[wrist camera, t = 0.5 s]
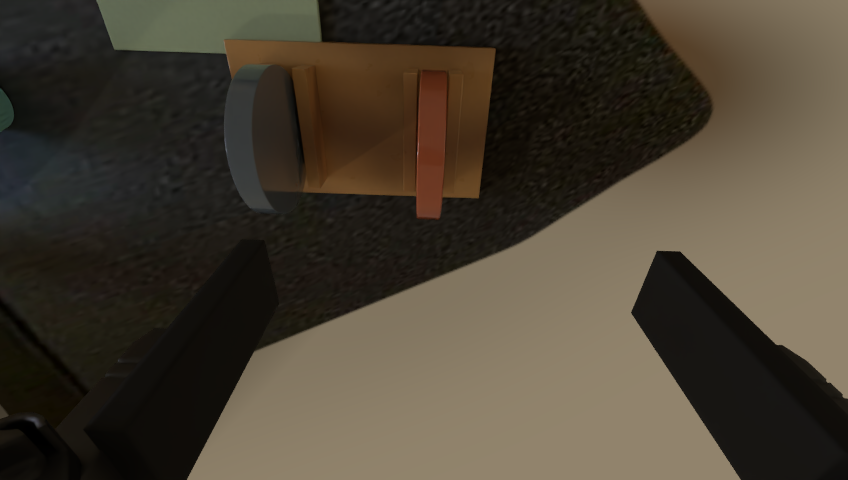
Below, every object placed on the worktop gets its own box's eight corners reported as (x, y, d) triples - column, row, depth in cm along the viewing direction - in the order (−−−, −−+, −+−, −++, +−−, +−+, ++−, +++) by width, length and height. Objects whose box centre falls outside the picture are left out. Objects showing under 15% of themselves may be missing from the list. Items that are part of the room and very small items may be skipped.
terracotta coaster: (423, 61, 28) (418, 81, 19) (444, 61, 28) (449, 82, 19) (419, 186, 33) (415, 245, 24) (438, 186, 33) (439, 246, 24)
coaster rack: (230, 38, 28) (204, 41, 25) (493, 47, 28) (501, 51, 25) (261, 185, 34) (244, 202, 31) (477, 193, 34) (481, 210, 31)
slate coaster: (275, 56, 28) (205, 74, 19) (297, 56, 28) (236, 75, 19) (295, 181, 33) (247, 240, 24) (313, 182, 33) (271, 240, 24)
